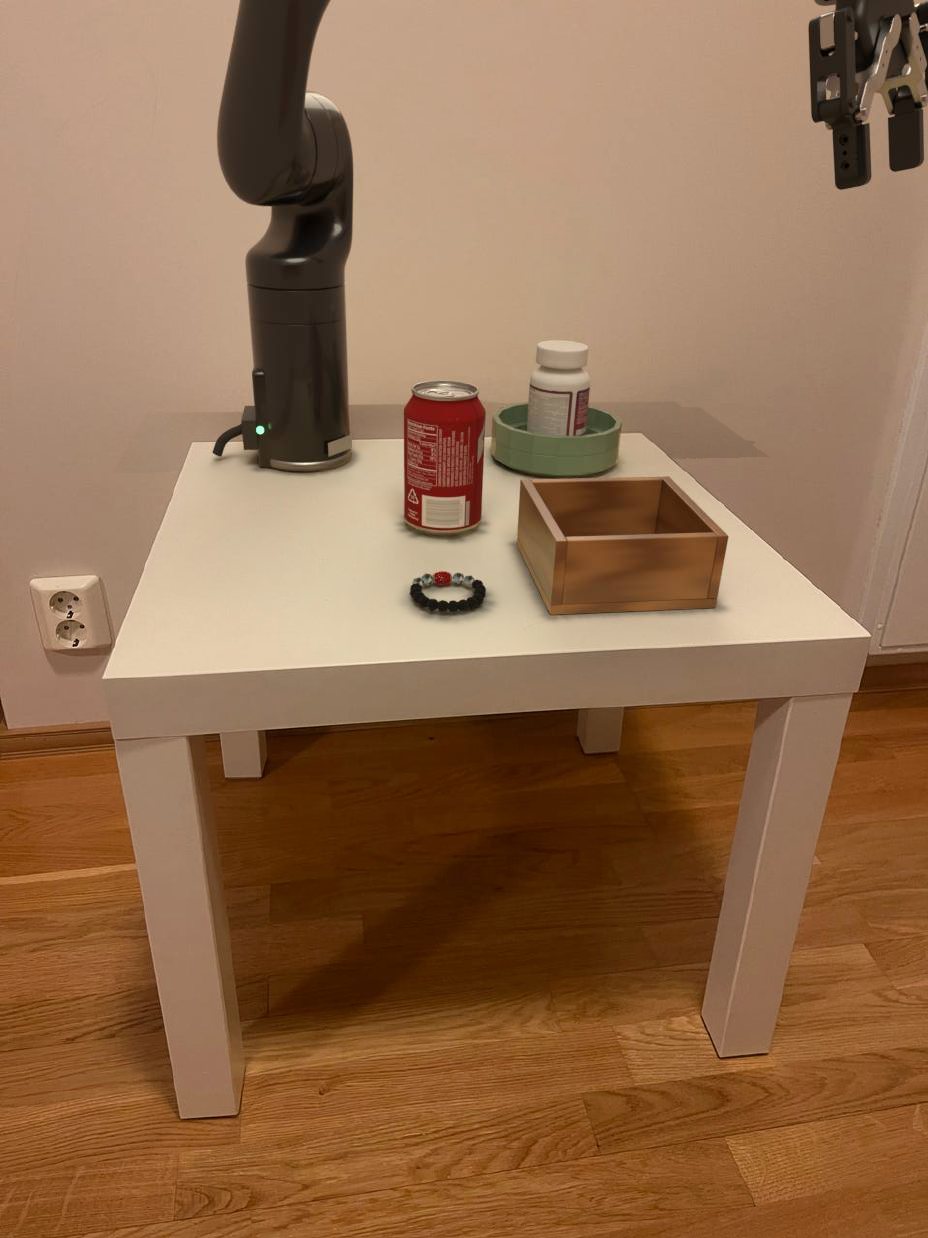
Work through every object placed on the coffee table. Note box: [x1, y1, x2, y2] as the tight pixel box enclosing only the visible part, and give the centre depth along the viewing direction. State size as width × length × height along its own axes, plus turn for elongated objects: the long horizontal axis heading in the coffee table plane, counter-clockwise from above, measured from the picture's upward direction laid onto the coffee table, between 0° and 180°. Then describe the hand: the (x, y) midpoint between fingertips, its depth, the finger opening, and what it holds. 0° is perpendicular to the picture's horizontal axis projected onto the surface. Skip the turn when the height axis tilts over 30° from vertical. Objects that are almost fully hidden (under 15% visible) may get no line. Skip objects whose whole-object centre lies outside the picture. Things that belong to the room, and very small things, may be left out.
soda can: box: [403, 379, 487, 537], centre depth 77 cm, size 7×7×12 cm
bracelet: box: [409, 571, 487, 613], centre depth 67 cm, size 6×6×1 cm
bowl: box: [490, 401, 623, 479], centre depth 95 cm, size 13×13×4 cm
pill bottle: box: [527, 339, 591, 436], centre depth 93 cm, size 6×6×11 cm
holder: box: [516, 475, 729, 616], centre depth 70 cm, size 13×13×6 cm
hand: (880, 177), depth 64 cm, fingers open, 8 cm apart
